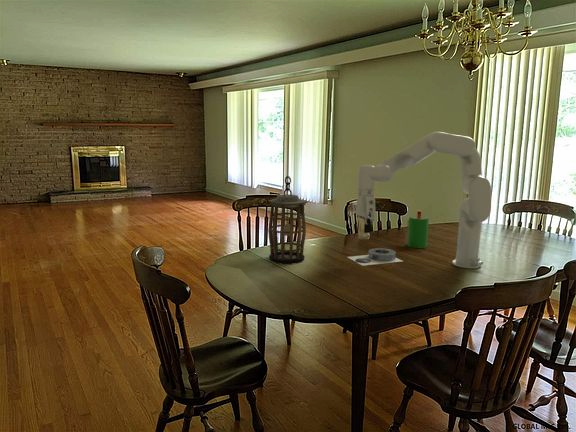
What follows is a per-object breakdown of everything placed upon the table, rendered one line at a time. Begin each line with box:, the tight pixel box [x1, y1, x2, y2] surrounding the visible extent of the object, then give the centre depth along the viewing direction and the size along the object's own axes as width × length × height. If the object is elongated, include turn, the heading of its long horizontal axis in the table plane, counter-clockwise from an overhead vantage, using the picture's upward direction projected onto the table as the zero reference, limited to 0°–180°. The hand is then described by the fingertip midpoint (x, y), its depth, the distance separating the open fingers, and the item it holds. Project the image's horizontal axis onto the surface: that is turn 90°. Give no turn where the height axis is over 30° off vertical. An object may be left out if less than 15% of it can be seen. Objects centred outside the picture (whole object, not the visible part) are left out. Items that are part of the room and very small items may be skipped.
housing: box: [367, 247, 397, 261], centre depth 219 cm, size 13×13×3 cm
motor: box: [406, 209, 430, 249], centre depth 245 cm, size 10×9×20 cm
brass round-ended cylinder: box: [358, 217, 370, 240], centre depth 211 cm, size 5×5×10 cm
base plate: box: [347, 254, 403, 267], centre depth 217 cm, size 15×22×1 cm
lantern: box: [266, 175, 308, 265], centre depth 215 cm, size 19×19×40 cm
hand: (364, 230), depth 211 cm, fingers closed on brass round-ended cylinder, 5 cm apart
